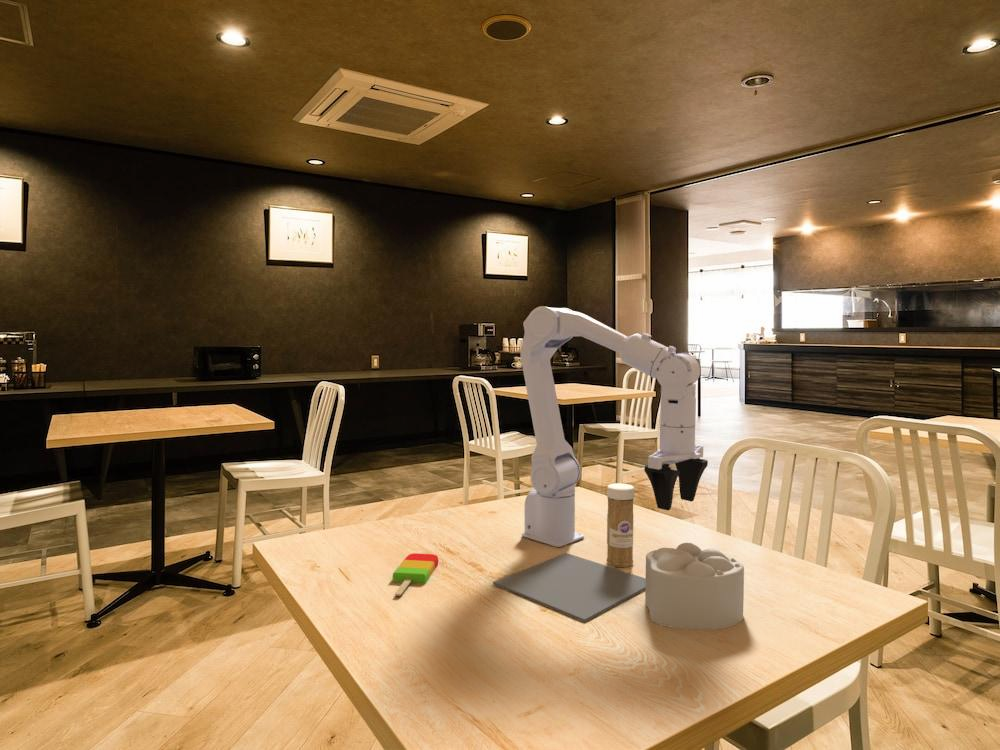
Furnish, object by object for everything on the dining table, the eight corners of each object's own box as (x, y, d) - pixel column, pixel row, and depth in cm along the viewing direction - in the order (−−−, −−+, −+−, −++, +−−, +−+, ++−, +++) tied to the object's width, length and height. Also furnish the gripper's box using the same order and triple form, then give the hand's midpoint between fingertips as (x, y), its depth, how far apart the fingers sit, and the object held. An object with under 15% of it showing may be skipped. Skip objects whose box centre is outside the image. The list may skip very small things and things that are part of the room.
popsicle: (440, 564, 106) (440, 553, 106) (415, 601, 91) (415, 589, 91) (409, 562, 107) (409, 552, 107) (379, 599, 92) (379, 587, 92)
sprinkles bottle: (616, 570, 102) (617, 490, 101) (601, 560, 106) (601, 484, 105) (639, 565, 104) (640, 487, 103) (623, 556, 108) (623, 481, 107)
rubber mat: (492, 584, 96) (492, 581, 96) (566, 555, 109) (566, 552, 109) (584, 622, 84) (584, 619, 84) (655, 584, 96) (655, 581, 96)
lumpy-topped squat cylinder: (642, 594, 93) (643, 538, 92) (731, 598, 91) (733, 541, 91) (653, 627, 82) (653, 564, 82) (753, 632, 81) (755, 567, 80)
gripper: (676, 432, 96) (674, 518, 97) (720, 423, 106) (718, 500, 107) (637, 427, 101) (636, 509, 102) (683, 419, 111) (681, 493, 112)
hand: (675, 504), depth 105 cm, fingers open, 7 cm apart
